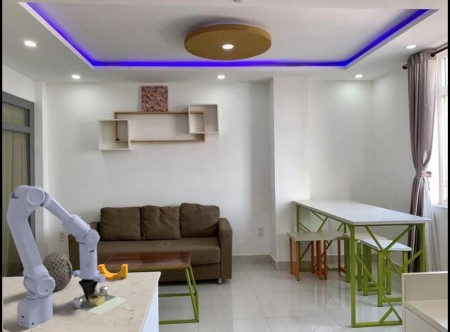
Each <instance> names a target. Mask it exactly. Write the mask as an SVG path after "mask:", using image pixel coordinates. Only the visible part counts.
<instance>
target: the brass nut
mask: <svg viewBox="0 0 450 332" xmlns="http://www.w3.org/2000/svg"><path fill="white" fill-rule="evenodd" d="M88 302H89V305H90V306H99V305H101V304H103V303H105V295H104V294H103V293H94V294H92V295H90V296H88Z"/></svg>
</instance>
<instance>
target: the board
mask: <svg viewBox="0 0 450 332" xmlns="http://www.w3.org/2000/svg"><path fill="white" fill-rule="evenodd" d="M97 293H99V291H97ZM80 297H82V306H83V307H82V308H81V309H80V310H81V311H84V312H88V313H91V314H94V315H97V316H101V315H103V314H105V313H106V312H109V311H110V310H112V309H114V308H115V307H118V306H119V305H122V304H123V303H125V302H127V301H128V299H127V298H122V297H119V296H115V295H111V294H109V293H107V296H106V297H105V303H103V304H101V305H99V306H90V305H89V302H88V300H86V298H85V295H81V296H80ZM64 305H65V306H68V307H72V308H74V303H73V299H72V300H69V301H67V302H64Z"/></svg>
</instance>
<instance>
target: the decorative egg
mask: <svg viewBox="0 0 450 332" xmlns="http://www.w3.org/2000/svg"><path fill="white" fill-rule="evenodd" d="M42 264H43V265H44V267H45V268H46V269H47V271H48V273H49V275H50V276H51V277H52V278H53V279H54V280H55V288H54V290H53V291H60V290H62V289H64V288H66V287H67V286H68V285H69V283H70V282H71V281H72V278H73V266H72V263H71V261H70V259H69V258H68V256H67V255H66V254H64V253H62V252H58V251H55V252H51V253H49V254H48V255H47V256H45V257H44V259H43V260H42ZM53 291H52V292H53Z"/></svg>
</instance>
